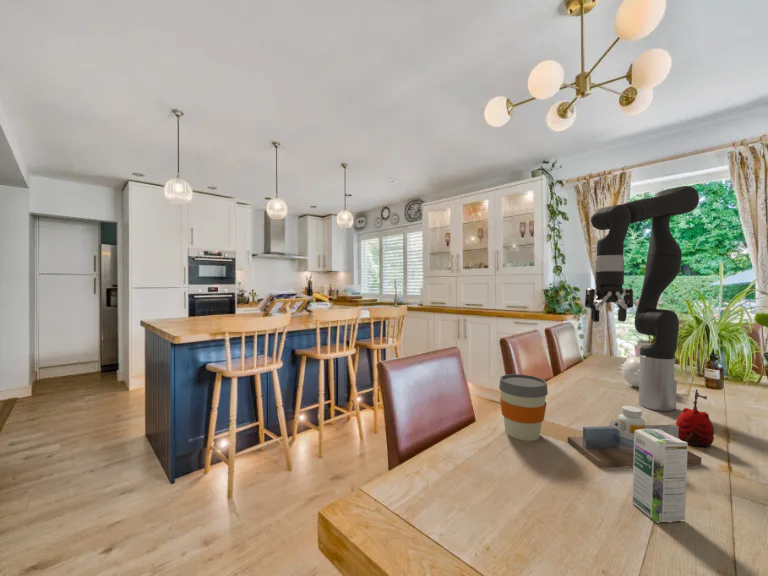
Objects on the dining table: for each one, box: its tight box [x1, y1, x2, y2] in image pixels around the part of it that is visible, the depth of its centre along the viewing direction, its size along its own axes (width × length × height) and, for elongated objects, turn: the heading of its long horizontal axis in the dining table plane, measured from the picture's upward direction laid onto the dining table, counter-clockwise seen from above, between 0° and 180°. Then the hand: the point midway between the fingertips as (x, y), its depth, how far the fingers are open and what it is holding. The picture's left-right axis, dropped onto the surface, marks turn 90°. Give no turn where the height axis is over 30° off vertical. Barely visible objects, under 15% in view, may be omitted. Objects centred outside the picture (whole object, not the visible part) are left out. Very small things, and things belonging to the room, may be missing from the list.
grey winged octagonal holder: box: [582, 419, 679, 455], centre depth 85 cm, size 24×8×5 cm, turn 94°
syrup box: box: [631, 429, 689, 523], centre depth 63 cm, size 6×6×14 cm
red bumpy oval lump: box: [675, 389, 715, 448], centre depth 90 cm, size 8×7×15 cm
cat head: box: [616, 353, 640, 389], centre depth 136 cm, size 15×13×12 cm
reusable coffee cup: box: [499, 373, 549, 442], centre depth 95 cm, size 13×13×15 cm
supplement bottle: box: [617, 405, 646, 433], centre depth 85 cm, size 5×5×10 cm
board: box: [567, 435, 702, 468], centre depth 85 cm, size 25×12×2 cm, turn 94°
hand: (608, 321), depth 108 cm, fingers open, 8 cm apart
